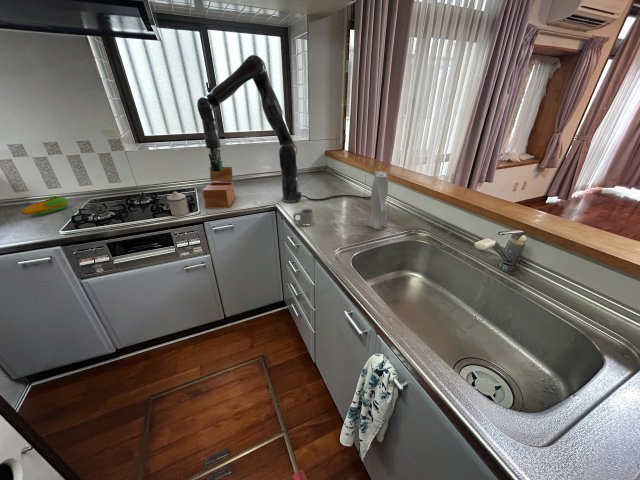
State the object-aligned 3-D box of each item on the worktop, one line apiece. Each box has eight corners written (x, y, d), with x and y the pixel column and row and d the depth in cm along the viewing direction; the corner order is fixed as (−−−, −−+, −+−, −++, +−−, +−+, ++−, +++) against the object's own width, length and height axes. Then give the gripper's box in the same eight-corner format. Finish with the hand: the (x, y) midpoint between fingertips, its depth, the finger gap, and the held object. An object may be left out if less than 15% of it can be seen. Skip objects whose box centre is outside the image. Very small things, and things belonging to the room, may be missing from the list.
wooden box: (213, 197, 165) (210, 181, 160) (235, 197, 166) (232, 180, 161) (205, 207, 150) (201, 190, 145) (229, 207, 151) (226, 190, 146)
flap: (210, 181, 160) (210, 181, 160) (232, 181, 161) (232, 181, 161) (209, 167, 158) (209, 167, 159) (231, 166, 159) (231, 166, 160)
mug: (313, 221, 136) (313, 208, 133) (313, 226, 130) (313, 214, 127) (294, 220, 136) (293, 208, 133) (293, 226, 130) (292, 214, 127)
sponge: (223, 169, 155) (221, 160, 153) (220, 171, 151) (219, 162, 148) (214, 169, 155) (212, 160, 152) (211, 171, 150) (210, 162, 148)
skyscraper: (375, 231, 126) (383, 173, 113) (363, 225, 132) (369, 169, 119) (387, 227, 131) (396, 170, 117) (375, 221, 136) (382, 166, 123)
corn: (67, 193, 145) (20, 206, 129) (74, 206, 149) (29, 220, 133) (60, 192, 148) (12, 204, 132) (67, 205, 151) (21, 219, 135)
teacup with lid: (192, 212, 144) (187, 192, 138) (175, 217, 138) (169, 196, 132) (183, 206, 151) (178, 187, 145) (166, 211, 145) (160, 190, 139)
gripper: (215, 140, 138) (221, 173, 147) (222, 136, 151) (227, 166, 159) (200, 140, 138) (207, 173, 146) (208, 136, 150) (214, 166, 158)
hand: (217, 169), depth 152 cm, fingers closed on sponge, 5 cm apart
